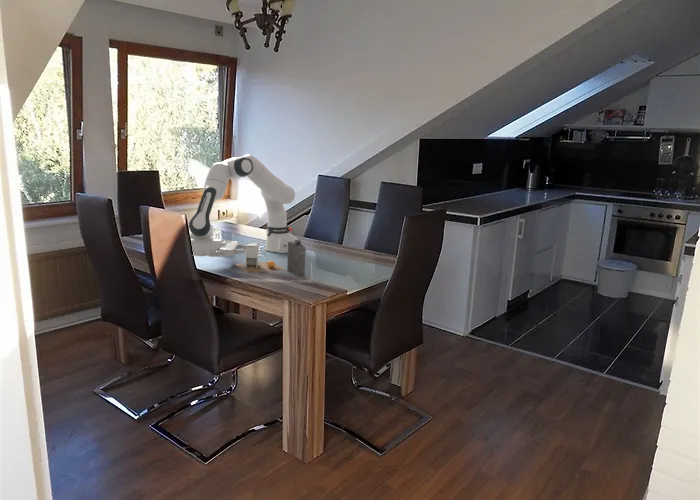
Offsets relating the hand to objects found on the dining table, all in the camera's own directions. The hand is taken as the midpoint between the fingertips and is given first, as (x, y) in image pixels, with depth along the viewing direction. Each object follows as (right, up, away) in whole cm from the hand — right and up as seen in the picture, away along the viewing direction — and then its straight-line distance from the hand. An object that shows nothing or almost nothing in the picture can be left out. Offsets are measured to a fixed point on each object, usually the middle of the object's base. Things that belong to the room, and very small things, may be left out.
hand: (246, 249), depth 273 cm
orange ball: (+13, -8, +1) cm, 15 cm away
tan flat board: (+7, -10, +1) cm, 12 cm away
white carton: (+3, -9, +2) cm, 9 cm away
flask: (+26, -13, -7) cm, 30 cm away
